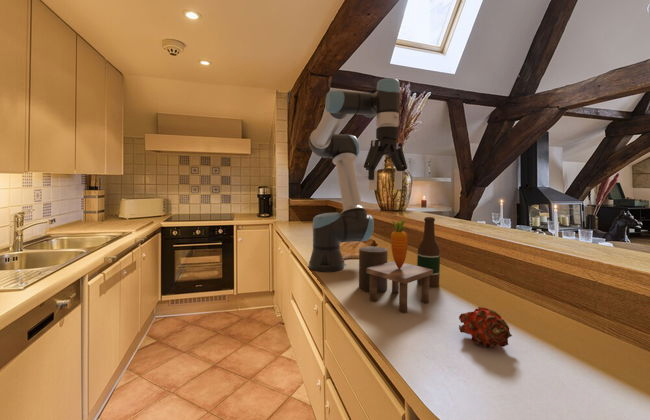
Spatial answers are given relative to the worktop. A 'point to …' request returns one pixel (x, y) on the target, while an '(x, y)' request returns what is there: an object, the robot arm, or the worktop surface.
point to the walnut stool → (400, 280)
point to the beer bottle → (429, 253)
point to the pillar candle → (369, 259)
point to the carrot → (399, 243)
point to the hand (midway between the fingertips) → (386, 189)
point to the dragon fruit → (485, 327)
